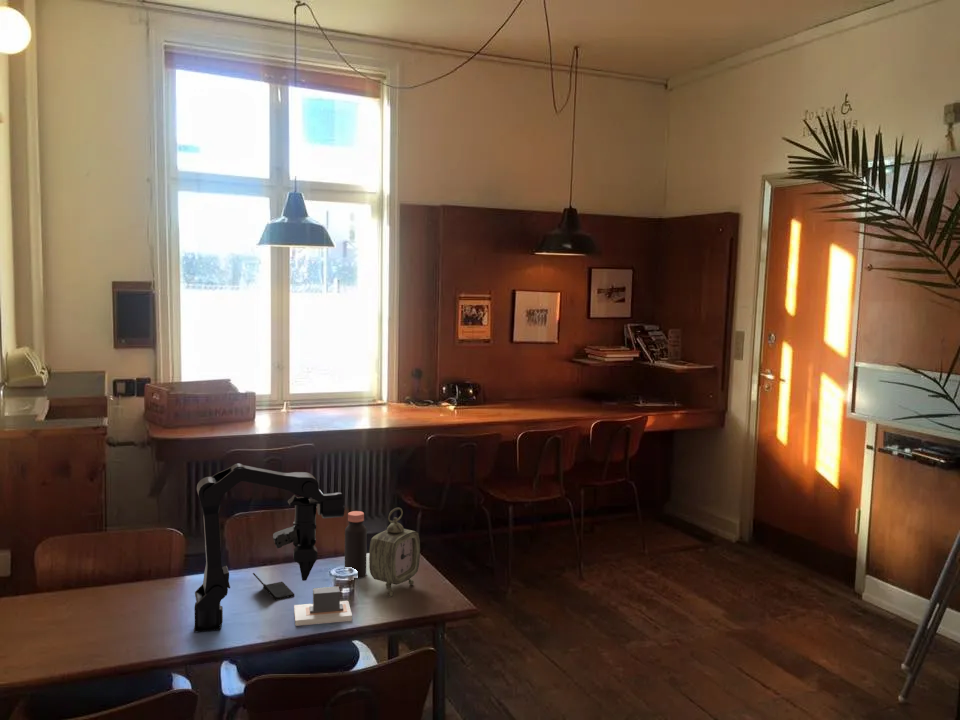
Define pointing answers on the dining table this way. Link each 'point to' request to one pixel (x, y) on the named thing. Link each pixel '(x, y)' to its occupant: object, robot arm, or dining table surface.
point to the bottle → (356, 543)
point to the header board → (321, 614)
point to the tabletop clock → (394, 554)
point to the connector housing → (326, 598)
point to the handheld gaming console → (277, 590)
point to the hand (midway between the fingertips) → (303, 574)
